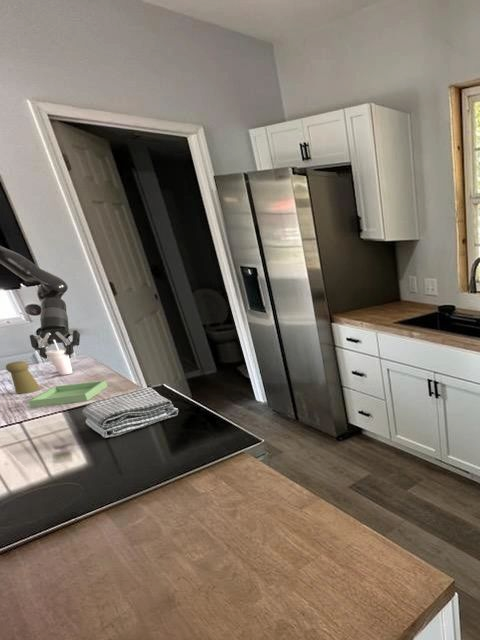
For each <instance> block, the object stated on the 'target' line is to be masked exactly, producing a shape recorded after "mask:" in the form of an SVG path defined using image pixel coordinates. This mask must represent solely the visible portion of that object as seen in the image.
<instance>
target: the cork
mask: <svg viewBox="0 0 480 640" xmlns="http://www.w3.org/2000/svg"><path fill="white" fill-rule="evenodd" d="M5 369H6V371H7V372H9V373H10V375H11V379H12V383H13V386H14V391H15V393H16V395H25V394H31V393H34V392H37V391H40V390H41V387H40V385H39V384H38V382H37V380H35V378H34V376H33V374H31V372H30V371H29V364H28V363H27V362H26V361H21V360H19V361H12V362H9V363H7V364H6V366H5Z"/></svg>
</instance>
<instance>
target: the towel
mask: <svg viewBox="0 0 480 640" xmlns="http://www.w3.org/2000/svg"><path fill="white" fill-rule="evenodd" d="M81 413H82V415H83V416H84V418H86V419H85V424H86V425H87V426H88V427H89V428H91V429H92V430H93V431H95V433H98V434H99V435H101V436H102V438H104V439H107V438H113V437H119V436H121V435H123V434H124V435H125V434H127V433H131V432H133V431H136V430H138V429H141V428H145V427H147V426H151V425H153V424H156V423H158V422H162V421H165V420H168V419H171V418H174V417H177V416H178V414H179V408H177V407H174V404H173V403H172V401H171V399H168V398H166V397H164V396H162V395H161V394H160V393H159V392H157V391H156V390H155V389H154V388H152V387H151V386H147V387H144V388H141V389H138V390H134V391H131V392H127V393H124V394H121V395H117V396H113V397H109V398H106V399H103V400H102V399H101V400H98V401H95V402H91V403H89V404H88V405H86V406H85V407H84V408H83V409H82V411H81Z"/></svg>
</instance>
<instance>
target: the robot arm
mask: <svg viewBox="0 0 480 640" xmlns="http://www.w3.org/2000/svg"><path fill="white" fill-rule="evenodd" d="M0 264H1V265H2V266H3V267H5V268H7V269H8V270H10V271H11V272H12V273H14V274H15V275H16V276H18V277H19V278H21V279H22V280H23V281H26V282H35V281H37V282H39V283H40V285H39V286H38V287H37V290H36V296H37V298H38V302H40V317H39V318H40V319H39V320H40V333H39V334H37V335H34V334H30V335H29V341H30V345H31V347H32V348H33V349H34V350H35V351H38V352H39V353H38V354H39V356H40V357H41V358H43V359H44V360H45V359H48V355H46V353H45V352H46V351H47V349H48V348H50V347H51V346H52V345H55V344H54V341H53V340H55V341H56V343H57V344H62V343H64V344H65V348H66V353H67V354H68V355H69V356H72V355H73V354H74V347H76V346H77V347H78V346H80V339H81V333H80V332H79V331H78V330H77V329H74V330H73V331H70V329H69V316H68V312H67V304H66V302H65V301H64V300H63V299H62V297H63V296H64V295H65V293H66V292H67V291H68V289H69V287H68V284H67V283H66V281H64V280H63V279H62V278H61V277H58V276H57V275H54V274H53V273H50V272H48V271H47V270H44V269H42V268H40V267H39V266H38V265H36V264H35V263H33V262H32V261H31V260H29V259H28V258H27V257H25V256H24V255H22V254H20V253H18V252H16V251H13V250H11V249H8V248H6V247H4V246H2V245H0ZM69 337H72V340H71V341H69V340H68V338H69ZM41 339H42V340H41ZM40 340H41V341H40ZM39 342H40V343H39Z"/></svg>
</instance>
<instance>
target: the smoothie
mask: <svg viewBox="0 0 480 640" xmlns="http://www.w3.org/2000/svg"><path fill="white" fill-rule="evenodd" d="M53 341H54V344H53V345H54V347H55V349H50V350H46V352H45V353H46V355H47V358H48V359H49V360H50V362H51V363H52V365H53V366H54V369H56V372H57V373H58V375H59V376H65V375H71V374H73V369H72V367H73V366H72V363H71V360H70V355H68V354H67V353H66V347H65V348H63V347H62V348H59V346H58V343H56V341H55V340H53Z"/></svg>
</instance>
